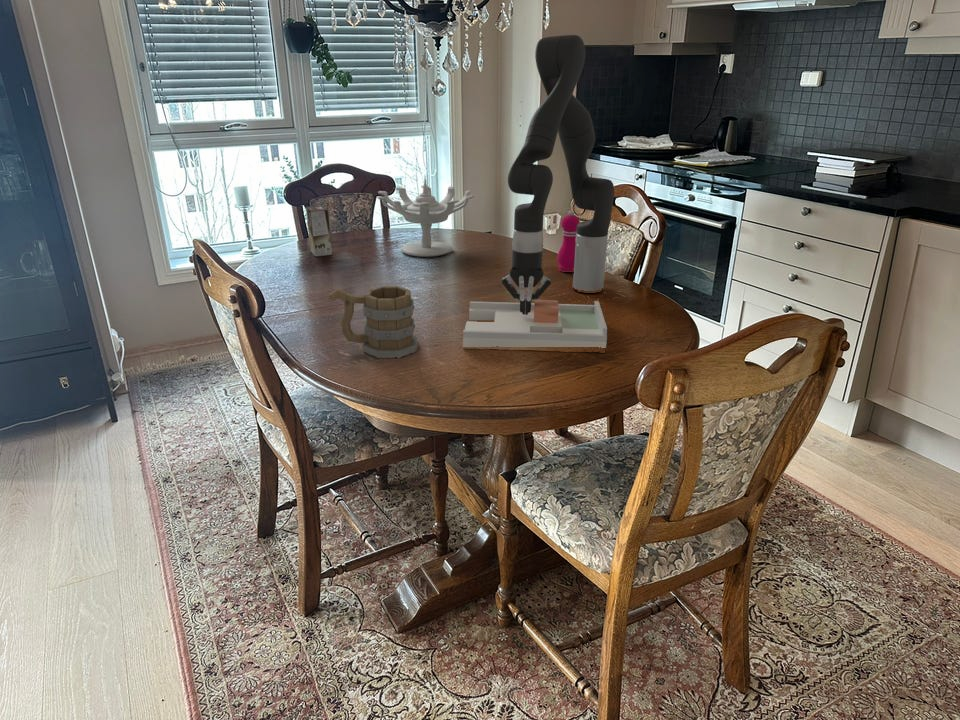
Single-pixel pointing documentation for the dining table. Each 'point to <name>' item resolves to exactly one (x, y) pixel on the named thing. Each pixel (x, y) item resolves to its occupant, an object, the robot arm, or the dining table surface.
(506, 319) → the box
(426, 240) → the candelabra
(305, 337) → the dining table surface
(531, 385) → the dining table surface
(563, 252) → the pepper mill
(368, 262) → the dining table surface
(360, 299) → the tankard
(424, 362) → the dining table surface
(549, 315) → the block
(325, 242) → the coffee box
